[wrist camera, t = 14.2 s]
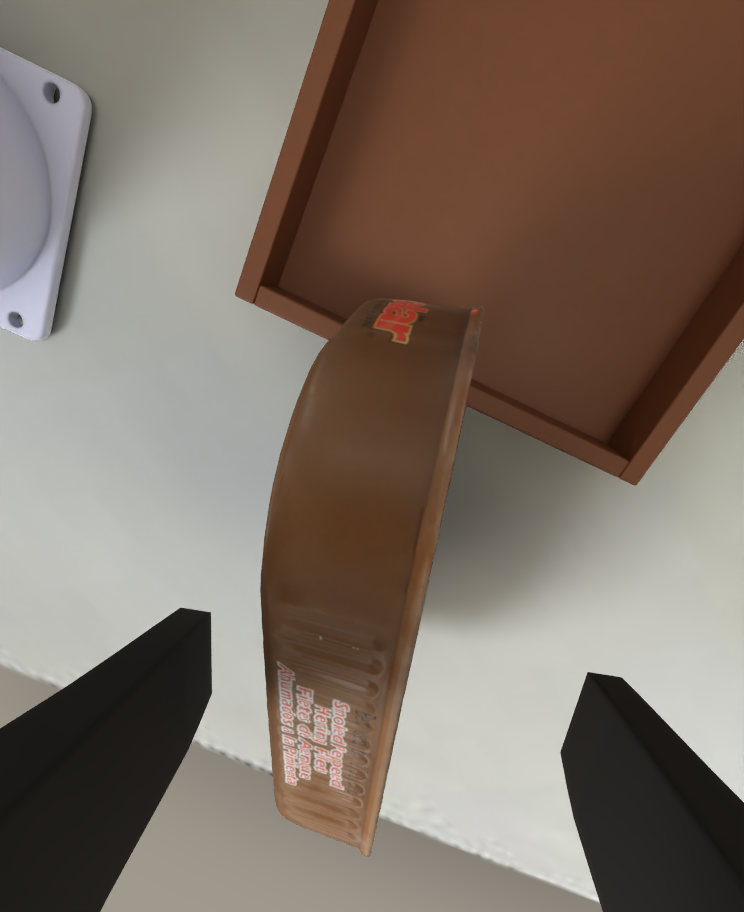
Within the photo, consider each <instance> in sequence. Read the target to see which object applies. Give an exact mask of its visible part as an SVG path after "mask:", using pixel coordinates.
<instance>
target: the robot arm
mask: <svg viewBox="0 0 744 912" xmlns="http://www.w3.org/2000/svg"><path fill="white" fill-rule="evenodd" d="M58 88H59V91H60V99H59V101H58V102H57V103H55V102H54V97H53V94H54V92H55V90H56V89H58ZM91 115H92V104H91V101H90V98H89V96H88V95H87V93H86V92H85V91H84V90H83V89H81V88H80V87H79V86H77V85H75V84H74V83H72V82H70V81H68V80H66V79H64V78H62V77H60V76H58V75H56V74H54V73H52V72H50V71H48V70H46V69H44V68H42V67H40V66H38V65H36V64H34V63H32V62H30V61H28V60H26V59H23V58H21V57H19V56H17V55H15V54H13V53H11V52H9V51H7V50H5V49H3V48H1V47H0V327H2V328H4V329H6V330H8V331H10V332H13V333H15V334H17V335H19V336H21V337H23V338H26V339H28V340H31V341H39V340H45V339H46V338H48V337H49V335H50V333H51V328H52V323H53V318H54V312H55V307H56V302H57V296H58V291H59V286H60V280H61V275H62V270H63V264H64V259H65V254H66V248H67V243H68V238H69V232H70V227H71V222H72V216H73V211H74V205H75V200H76V195H77V189H78V184H79V179H80V173H81V168H82V163H83V157H84V152H85V147H86V141H87V136H88V131H89V125H90V120H91ZM19 314H20V315H21V317H22V319H23V325H21V324H20V322H19V320H18V315H19ZM211 694H212V668H211V612H204V611H198V610H192V609H185V608H180V609H178V610H177V611H175V612H174V613H172V614H171V615H169V616H168V617H166V618H165V619H164V620H162V621H161V622H159V623H158V624H156V625H155V626H154V627H152V628H151V629H149V630H148V631H146V632H145V633H144V634H142V635H141V636H139V637H138V638H136V639H135V640H134V641H132V642H131V643H129V644H128V645H126V646H125V647H124V648H122V649H121V650H119V651H118V652H116V653H115V654H114V655H112V656H111V657H109V658H108V659H106V660H105V661H103V662H102V663H100V664H99V665H98V666H96V667H95V668H93V669H92V670H90V671H89V672H87V673H86V674H84V675H83V676H81V677H80V678H78V679H77V680H75V681H74V682H73V683H71V684H70V685H68V686H67V687H65V688H64V689H62V690H60V691H59V692H57V693H56V694H54V695H53V696H51V697H49V698H48V699H46V700H45V701H43V702H41V703H40V704H38V705H37V706H35V707H34V708H32V709H30V710H29V711H27V712H26V713H24V714H22V715H21V716H20V717H18V718H16V719H15V720H13V721H11V722H10V723H8V724H7V725H5V726H4V727H2V728H0V912H100V911H101V909H102V907H103V905H104V903H105V901H106V899H107V897H108V895H109V893H110V892H111V890H112V888H113V886H114V884H115V883H116V881H117V879H118V877H119V875H120V873H121V872H122V870H123V868H124V866H125V864H126V862H127V861H128V859H129V857H130V855H131V853H132V852H133V849H134V848H135V846H136V844H137V843H138V841H139V839H140V837H141V835H142V834H143V832H144V830H145V828H146V826H147V824H148V822H149V821H150V819H151V817H152V815H153V814H154V812H155V810H156V808H157V806H158V804H159V802H160V801H161V799H162V797H163V795H164V793H165V792H166V790H167V788H168V786H169V784H170V782H171V781H172V779H173V777H174V775H175V773H176V771H177V770H178V768H179V766H180V764H181V762H182V760H183V758H184V757H185V755H186V753H187V751H188V749H189V746H190V744H191V742H192V740H193V737H194V735H195V733H196V731H197V728H198V726H199V724H200V721H201V719H202V716H203V714H204V711H205V709H206V706H207V704H208V702H209V699H210V697H211ZM561 758H562V763H563V768H564V773H565V779H566V784H567V789H568V794H569V798H570V803H571V807H572V812H573V817H574V820H575V823H576V827H577V830H578V833H579V837H580V840H581V843H582V846H583V850H584V853H585V856H586V859H587V862H588V866H589V869H590V872H591V875H592V879H593V882H594V885H595V888H596V891H597V894H598V897H599V901H600V904H601V907H602V910H603V912H744V802H743V801H742V800H741V799H740V798H739V797H738V796H737V795H736V794H735V793H734V792H733V791H732V790H731V789H730V788H729V787H728V786H727V785H726V784H725V783H724V782H723V781H722V780H721V779H720V778H719V777H718V776H717V775H716V774H715V773H714V772H713V771H712V770H711V769H710V768H709V767H708V766H707V765H706V764H705V763H704V762H703V761H702V760H701V759H700V758H699V757H698V756H697V754H696V753H695V752H694V751H693V750H692V749H691V748H690V747H689V746H688V745H687V744H686V743H685V742H684V741H683V740H682V739H681V738H680V737H679V736H678V735H677V734H676V733H675V732H674V731H673V730H672V728H671V727H670V726H669V725H668V724H667V723H666V722H665V721H664V720H663V719H662V718H661V717H660V716H659V715H658V714H657V713H656V712H655V711H654V710H653V709H652V708H651V707H650V706H649V705H648V703H647V702H646V701H645V700H644V699H643V698H642V697H641V696H640V695H639V694H638V693H637V692H636V691H635V690H634V689H633V688H632V687H631V686H630V685H629V684H628V683H627V682H626V681H625V680H624V679H623V678H621V677H615V676H609V675H602V674H596V673H590V672H588V673H587V676H586V679H585V682H584V685H583V688H582V691H581V694H580V696H579V699H578V702H577V705H576V708H575V711H574V714H573V717H572V720H571V723H570V726H569V729H568V732H567V735H566V738H565V741H564V743H563V746H562V749H561Z"/></svg>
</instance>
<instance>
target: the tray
mask: <svg viewBox="0 0 744 912" xmlns="http://www.w3.org/2000/svg"><path fill="white" fill-rule="evenodd" d="M235 295H236V296H237V297H239V298H241V299H243V300H245V301H247V302H249V303H252V304H255V305H256V306H258V307H260V308H262V309H264V310H266V311H269V312H271V313H273V314H275V315H277V316H279V317H281V318H283V319H285V320H288V321H290V322H292V323H294V324H296V325H298V326H300V327H302V328H304V329H306V330H309V331H311V332H313V333H315V334H317V335H319V336H321V337H323V338H325V339H327V340H330V339H331V338H332V337H333V336H334V335H335V333H336V332H337V331H338V330H339V329H340V328H341V327H342V326H343V324H344V323H345V322H346V321H347V320H348V318H349V317H350V316H351V315H352V314H353V313H354V312H355V311H356V310H357V309H358V307H360V306H361V305H362V304H364V303H365V302H367V301H369V300H372V299H379V298H387V299H399V300H409V301H415V302H421V303H427V304H433V305H439V306H447V307H456V308H464V309H470V308H472V307H473V306H475V305H480V306H483V307H484V309H485V310H484V315H483V322H482V326H481V333H480V337H479V344H478V348H477V354H476V360H475V365H474V369H473V374H472V378H471V383H470V386H469V392H468V397H467V403H466V406H468V407H471V408H473V409H475V410H477V411H479V412H481V413H483V414H485V415H487V416H489V417H492V418H494V419H496V420H498V421H500V422H502V423H504V424H506V425H508V426H511V427H513V428H515V429H517V430H519V431H521V432H523V433H525V434H527V435H529V436H532V437H534V438H536V439H538V440H540V441H542V442H544V443H546V444H548V445H550V446H553V447H555V448H557V449H559V450H561V451H563V452H565V453H567V454H569V455H572V456H574V457H576V458H578V459H580V460H582V461H584V462H586V463H588V464H590V465H593V466H595V467H597V468H599V469H601V470H603V471H605V472H607V473H609V474H611V475H614V476H616V477H619V478H620V479H622V480H624V481H626V482H628V483H630V484H632V485H637V483H638V482H639V481H640V479H641V478H642V477H643V475H644V474H645V473H646V471H647V470H648V468H649V467H650V466H651V464H652V463H653V462H654V460H655V459H656V458H657V456H658V455H659V453H660V452H661V451H662V449H663V448H664V447H665V445H666V444H667V443H668V441H669V440H670V438H671V437H672V436H673V434H674V433H675V432H676V430H677V429H678V427H679V426H680V425H681V423H682V422H683V421H684V419H685V418H686V417H687V415H688V414H689V412H690V411H691V410H692V408H693V407H694V406H695V404H696V403H697V402H698V400H699V399H700V397H701V396H702V395H703V393H704V392H705V391H706V389H707V388H708V387H709V385H710V384H711V382H712V381H713V380H714V378H715V377H716V376H717V374H718V373H719V371H720V370H721V369H722V367H723V366H724V365H725V363H726V362H727V361H728V359H729V358H730V356H731V355H732V354H733V352H734V351H735V350H736V348H737V347H738V346H739V344H740V343H741V341H742V340H743V339H744V0H329V3H328V6H327V9H326V12H325V15H324V18H323V21H322V24H321V27H320V31H319V34H318V37H317V40H316V43H315V46H314V49H313V52H312V56H311V59H310V62H309V65H308V68H307V71H306V74H305V77H304V80H303V84H302V87H301V90H300V93H299V96H298V99H297V102H296V105H295V108H294V112H293V115H292V118H291V121H290V124H289V127H288V130H287V133H286V136H285V140H284V143H283V146H282V149H281V152H280V155H279V158H278V161H277V164H276V168H275V171H274V174H273V177H272V180H271V183H270V186H269V189H268V192H267V196H266V199H265V202H264V205H263V208H262V211H261V214H260V217H259V220H258V224H257V227H256V230H255V233H254V236H253V239H252V242H251V245H250V248H249V252H248V255H247V258H246V261H245V264H244V267H243V270H242V273H241V276H240V280H239V283H238V286H237V289H236V292H235Z"/></svg>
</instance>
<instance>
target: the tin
mask: <svg viewBox="0 0 744 912" xmlns="http://www.w3.org/2000/svg"><path fill="white" fill-rule="evenodd" d="M484 310H485V309H484V307H483V306H480V305H475V306H473V307H472V308H470V309H464V308H456V307H447V306H439V305H433V304H427V303H421V302H415V301H409V300H399V299H387V298H379V299H372V300H369V301H367V302H365V303H364V304H362V305H361V306H360V307H358V309H357V310H356V311H355V312H354V313H353V314H352V315H351V316H350V317H349V318H348V320H347V321H346V322H345V323H344V324H343V326H342V327H341V328H340V329H339V330H338V331H337V332H336V333H335V335H334V336H333V337H332V338H331V339H330V340H329V341H328V342H327V343H326V345H325V346H324V347H323V349H322V350H321V351H320V353H319V354H318V356H317V358H316V360H315V361H314V363H313V365H312V367H311V369H310V371H309V373H308V376H307V378H306V381H305V383H304V385H303V388H302V390H301V393H300V395H299V397H298V400H297V403H296V406H295V409H294V412H293V415H292V418H291V421H290V424H289V427H288V430H287V434H286V437H285V440H284V443H283V447H282V450H281V453H280V457H279V462H278V466H277V470H276V474H275V478H274V482H273V488H272V493H271V498H270V504H269V511H268V517H267V524H266V531H265V538H264V549H263V560H262V570H261V590H260V591H261V608H262V629H263V638H264V639H263V648H264V660H265V677H266V693H267V709H268V718H269V732H270V745H271V756H272V771H273V781H274V794H275V801H276V805H277V808H278V810H279V812H280V814H281V815H282V816H284V817H285V818H286V819H288V820H289V821H291V822H293V823H295V824H297V825H299V826H301V827H304V828H306V829H309V830H312V831H314V832H317V833H320V834H322V835H325V836H327V837H330V838H333V839H335V840H338V841H341V842H344V843H347V844H349V845H351V846H354V847H357V848H359V850H360V851H361V853H362V854H363V855H364V856H366V857H369V856H370V855H371V849H372V845H373V841H374V836H375V831H376V827H377V821H378V817H379V812H380V809H381V804H382V799H383V793H384V788H385V784H386V778H387V773H388V769H389V765H390V760H391V755H392V750H393V745H394V740H395V735H396V731H397V727H398V722H399V717H400V712H401V707H402V702H403V697H404V694H405V690H406V685H407V680H408V676H409V671H410V667H411V662H412V657H413V653H414V648H415V644H416V639H417V635H418V630H419V625H420V620H421V615H422V610H423V605H424V600H425V595H426V590H427V585H428V582H429V576H430V572H431V567H432V563H433V558H434V554H435V551H436V544H437V539H438V535H439V529H440V525H441V521H442V516H443V510H444V506H445V502H446V497H447V492H448V488H449V484H450V479H451V475H452V470H453V465H454V461H455V456H456V451H457V447H458V442H459V437H460V432H461V427H462V422H463V417H464V413H465V408H466V403H467V397H468V392H469V386H470V383H471V378H472V374H473V369H474V365H475V360H476V354H477V348H478V344H479V337H480V333H481V326H482V322H483V315H484Z"/></svg>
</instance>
